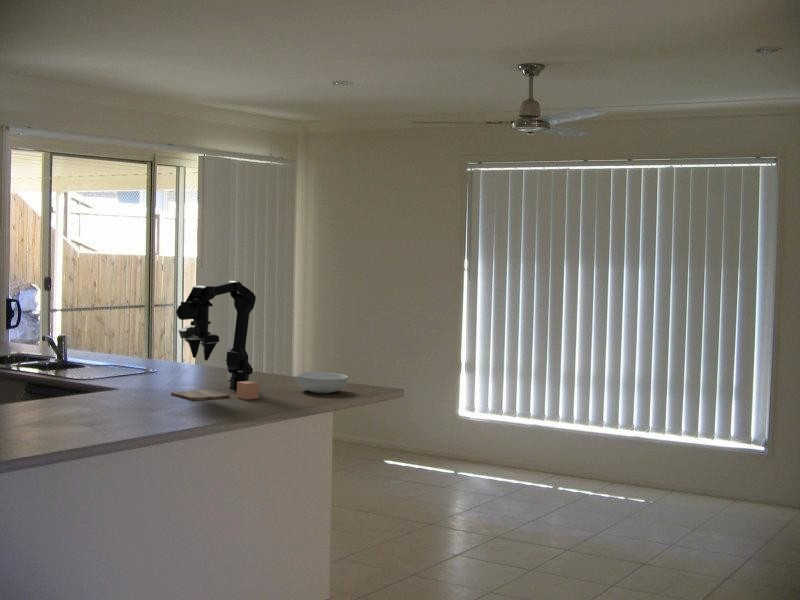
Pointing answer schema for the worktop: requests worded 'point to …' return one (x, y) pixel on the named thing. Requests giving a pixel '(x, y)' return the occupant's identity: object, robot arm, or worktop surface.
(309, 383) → the serving bowl
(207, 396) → the walnut board
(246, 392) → the terracotta cube
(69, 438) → the worktop surface
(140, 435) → the worktop surface
